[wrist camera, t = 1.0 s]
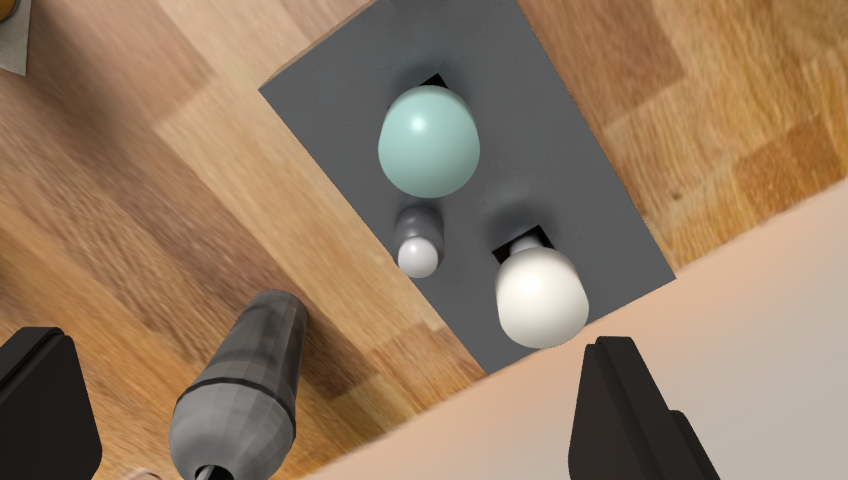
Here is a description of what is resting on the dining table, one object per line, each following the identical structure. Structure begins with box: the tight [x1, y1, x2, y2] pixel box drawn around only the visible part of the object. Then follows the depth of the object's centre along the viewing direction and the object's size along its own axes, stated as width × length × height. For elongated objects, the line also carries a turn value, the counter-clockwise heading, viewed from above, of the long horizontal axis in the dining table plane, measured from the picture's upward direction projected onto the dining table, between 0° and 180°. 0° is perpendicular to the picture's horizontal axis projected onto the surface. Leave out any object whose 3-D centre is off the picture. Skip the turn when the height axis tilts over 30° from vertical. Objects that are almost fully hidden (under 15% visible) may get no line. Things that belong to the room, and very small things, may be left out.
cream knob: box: [494, 230, 589, 348], centre depth 37 cm, size 5×5×8 cm
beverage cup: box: [169, 290, 307, 480], centre depth 38 cm, size 7×7×20 cm
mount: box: [258, 0, 677, 375], centre depth 39 cm, size 14×24×5 cm, turn 34°
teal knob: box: [378, 85, 480, 198], centre depth 33 cm, size 5×5×8 cm
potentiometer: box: [392, 207, 445, 278], centre depth 36 cm, size 3×3×4 cm
